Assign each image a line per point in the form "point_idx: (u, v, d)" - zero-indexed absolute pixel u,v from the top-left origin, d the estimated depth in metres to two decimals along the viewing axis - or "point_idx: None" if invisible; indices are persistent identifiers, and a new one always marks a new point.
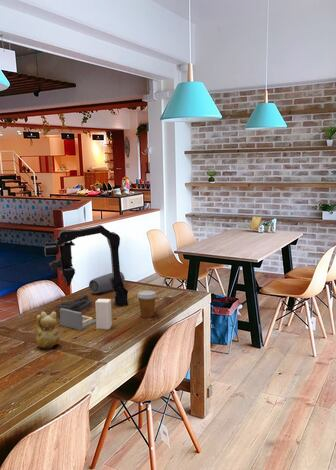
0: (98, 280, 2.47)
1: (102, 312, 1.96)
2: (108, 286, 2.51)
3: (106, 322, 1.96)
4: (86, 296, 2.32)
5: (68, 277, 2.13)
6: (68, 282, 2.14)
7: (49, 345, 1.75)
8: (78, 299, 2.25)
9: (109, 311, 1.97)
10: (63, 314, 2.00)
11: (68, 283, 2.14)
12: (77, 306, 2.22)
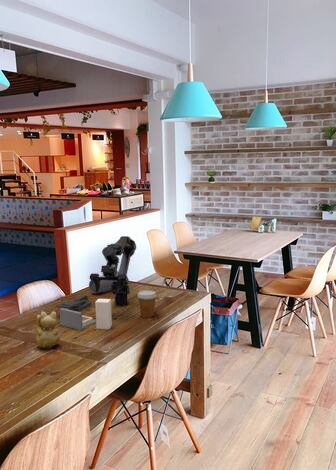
0: None
1: (102, 312, 1.96)
2: (108, 286, 2.51)
3: (106, 322, 1.96)
4: (86, 296, 2.31)
5: (119, 286, 2.07)
6: (117, 290, 2.05)
7: (49, 345, 1.75)
8: (78, 299, 2.25)
9: (109, 311, 1.97)
10: (63, 314, 2.00)
11: (116, 291, 2.05)
12: (77, 306, 2.22)
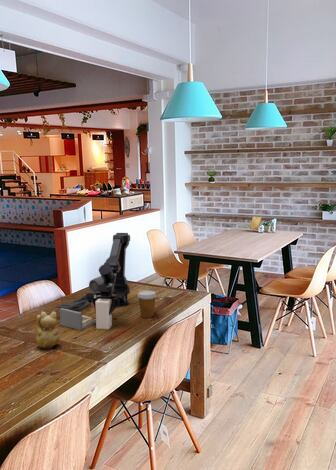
0: (98, 280, 2.47)
1: (102, 312, 1.96)
2: None
3: (106, 322, 1.96)
4: None
5: (113, 305, 1.99)
6: (111, 310, 1.98)
7: (49, 345, 1.75)
8: (77, 300, 2.24)
9: None
10: (63, 314, 2.00)
11: (111, 311, 1.97)
12: (76, 307, 2.21)
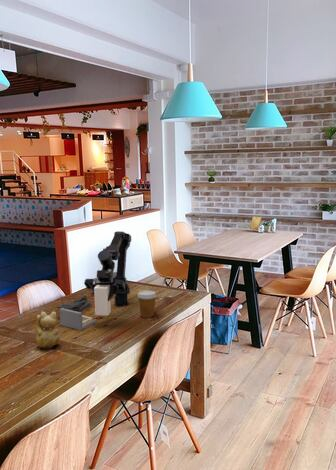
0: (98, 280, 2.47)
1: (101, 298, 1.94)
2: None
3: (105, 309, 1.95)
4: (85, 297, 2.30)
5: None
6: (110, 296, 1.96)
7: (49, 345, 1.75)
8: (77, 300, 2.24)
9: None
10: (63, 314, 2.00)
11: (110, 297, 1.96)
12: (77, 307, 2.21)
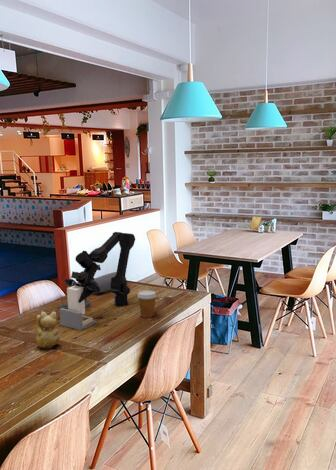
0: (98, 280, 2.47)
1: (72, 299, 1.99)
2: (108, 286, 2.51)
3: (75, 310, 1.99)
4: None
5: (85, 293, 2.00)
6: (82, 298, 1.99)
7: (49, 345, 1.75)
8: None
9: None
10: (63, 314, 2.00)
11: (81, 299, 1.99)
12: None
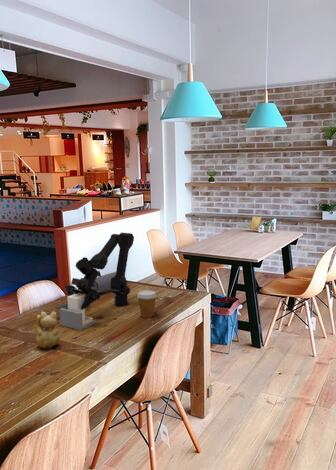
0: (98, 280, 2.47)
1: (72, 307, 1.99)
2: (108, 286, 2.51)
3: None
4: (84, 297, 2.30)
5: (88, 300, 2.00)
6: (84, 305, 1.99)
7: (49, 345, 1.75)
8: None
9: (80, 307, 2.00)
10: (63, 314, 2.00)
11: (84, 306, 1.98)
12: None
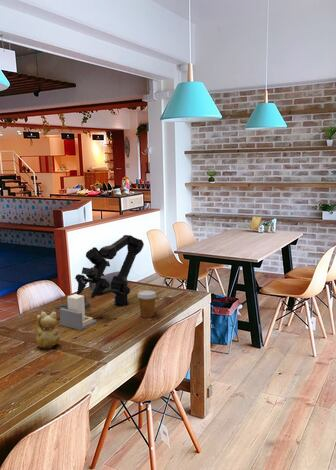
0: None
1: (72, 307, 1.99)
2: None
3: None
4: (84, 297, 2.29)
5: (98, 289, 2.05)
6: (94, 293, 2.04)
7: (49, 345, 1.75)
8: None
9: (80, 307, 2.00)
10: (63, 314, 2.00)
11: (94, 295, 2.04)
12: None
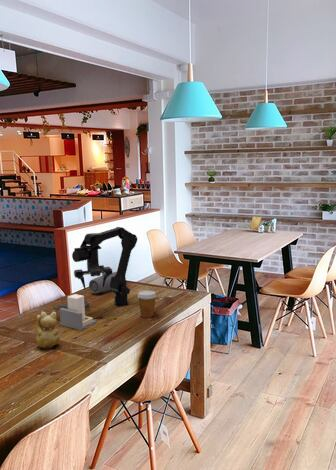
0: (98, 280, 2.47)
1: (72, 307, 1.99)
2: (108, 286, 2.51)
3: None
4: None
5: None
6: None
7: (49, 345, 1.75)
8: None
9: (80, 307, 2.00)
10: (63, 314, 2.00)
11: None
12: None
